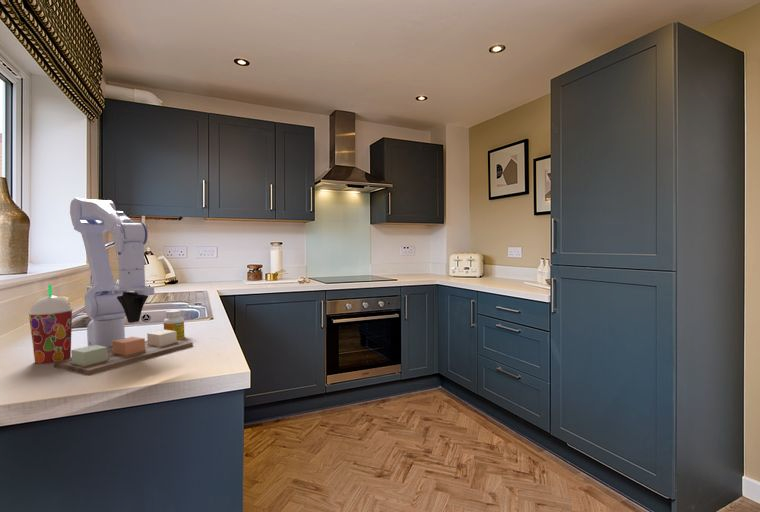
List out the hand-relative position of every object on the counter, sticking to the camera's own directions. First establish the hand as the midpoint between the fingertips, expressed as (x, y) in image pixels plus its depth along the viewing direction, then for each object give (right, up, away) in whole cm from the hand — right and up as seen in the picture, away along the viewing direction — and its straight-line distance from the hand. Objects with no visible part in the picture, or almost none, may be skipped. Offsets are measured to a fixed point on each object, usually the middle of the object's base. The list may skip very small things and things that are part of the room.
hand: (133, 322), depth 103 cm
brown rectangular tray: (0, -10, -2) cm, 10 cm away
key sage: (-4, -8, -11) cm, 14 cm away
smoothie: (-17, -10, -5) cm, 20 cm away
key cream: (+4, -8, +6) cm, 10 cm away
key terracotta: (0, -8, -2) cm, 8 cm away
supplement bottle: (+3, -9, +15) cm, 18 cm away
